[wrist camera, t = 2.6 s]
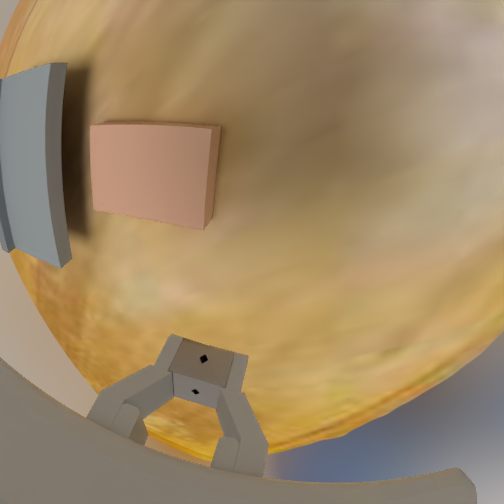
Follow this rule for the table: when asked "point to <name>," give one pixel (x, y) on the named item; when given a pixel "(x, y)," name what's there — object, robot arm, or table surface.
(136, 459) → the robot arm
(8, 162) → the grey block
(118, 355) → the table surface
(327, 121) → the table surface
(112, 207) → the tile
